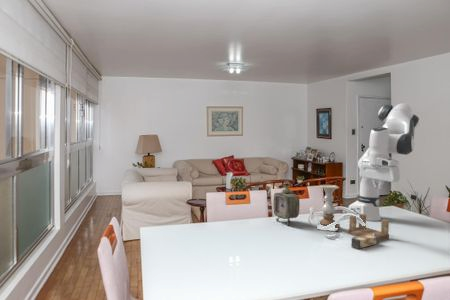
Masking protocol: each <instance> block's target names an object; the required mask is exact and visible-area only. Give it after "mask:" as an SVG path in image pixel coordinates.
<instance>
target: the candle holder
mask: <svg viewBox="0 0 450 300" xmlns="http://www.w3.org/2000/svg"><path fill="white" fill-rule="evenodd" d="M319 188H320V189H323V191H324V192H325V195H324V197H323V198H324V200H325V202H324V204H323V205H322V207H321V211H322V213H323V214H322V217H323V218H322V219H321V220H319V222H320V224H321V225H323V226H327V225H329V224H331V223H333V222H335V221H336V220H335V219H334V218H335V215H334V214H335V213H336V207H335V205H334V204H333V199H335V197H334V195H333V193H334V191H335V190H338V189H339V188H340V187H339V186H338V185H335V184H319ZM339 227H341V226H340V223H338V224H336V225H335V228H339ZM339 229H340V228H339Z"/></svg>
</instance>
